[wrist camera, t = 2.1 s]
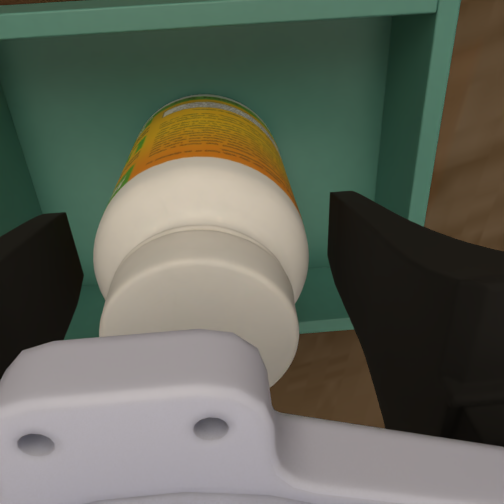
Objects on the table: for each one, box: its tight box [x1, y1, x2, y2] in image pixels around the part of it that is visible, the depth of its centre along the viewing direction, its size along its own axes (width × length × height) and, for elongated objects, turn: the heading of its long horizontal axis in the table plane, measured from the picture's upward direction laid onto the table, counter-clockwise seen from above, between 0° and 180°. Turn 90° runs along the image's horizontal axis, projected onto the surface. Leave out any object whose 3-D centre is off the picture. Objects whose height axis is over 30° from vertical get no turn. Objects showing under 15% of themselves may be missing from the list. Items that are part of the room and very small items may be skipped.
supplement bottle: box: [93, 94, 309, 388], centre depth 13 cm, size 5×5×10 cm
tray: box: [0, 0, 461, 340], centre depth 16 cm, size 14×11×4 cm
